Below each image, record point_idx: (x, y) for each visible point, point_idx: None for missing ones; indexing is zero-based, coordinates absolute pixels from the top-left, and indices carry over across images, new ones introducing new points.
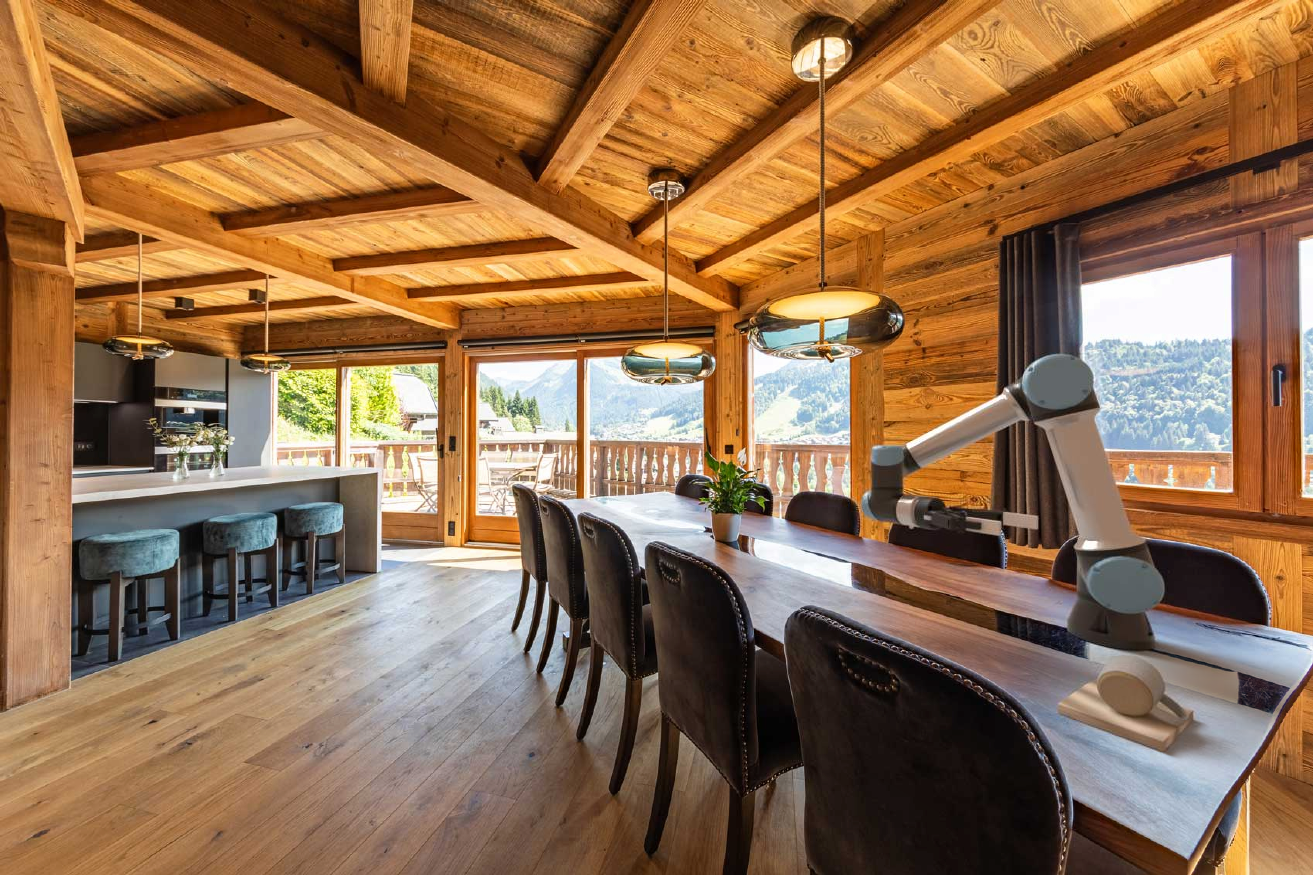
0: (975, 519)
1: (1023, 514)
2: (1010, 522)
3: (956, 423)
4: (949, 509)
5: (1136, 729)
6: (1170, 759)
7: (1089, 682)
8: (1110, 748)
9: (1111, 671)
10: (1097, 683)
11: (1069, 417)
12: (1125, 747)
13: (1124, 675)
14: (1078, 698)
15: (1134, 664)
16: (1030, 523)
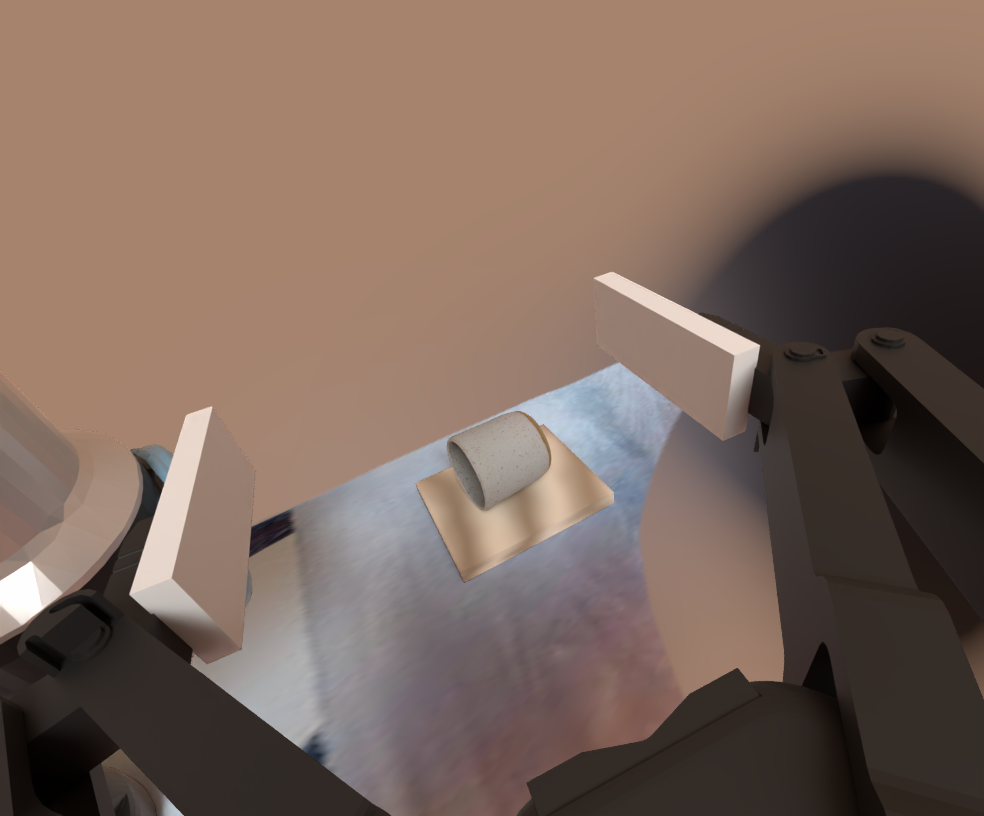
0: (703, 322)
1: (180, 465)
2: (234, 575)
3: None
4: (878, 761)
5: (550, 442)
6: (550, 425)
7: (484, 559)
8: (605, 436)
9: (535, 425)
10: (549, 455)
11: None
12: (583, 439)
13: (528, 415)
14: (561, 507)
15: (487, 426)
16: (237, 467)
